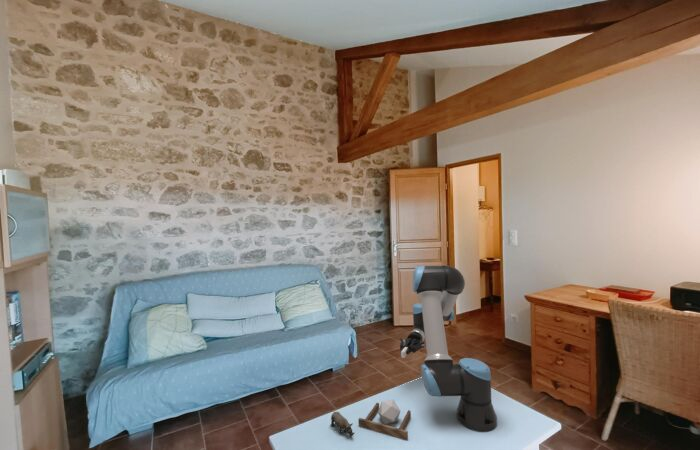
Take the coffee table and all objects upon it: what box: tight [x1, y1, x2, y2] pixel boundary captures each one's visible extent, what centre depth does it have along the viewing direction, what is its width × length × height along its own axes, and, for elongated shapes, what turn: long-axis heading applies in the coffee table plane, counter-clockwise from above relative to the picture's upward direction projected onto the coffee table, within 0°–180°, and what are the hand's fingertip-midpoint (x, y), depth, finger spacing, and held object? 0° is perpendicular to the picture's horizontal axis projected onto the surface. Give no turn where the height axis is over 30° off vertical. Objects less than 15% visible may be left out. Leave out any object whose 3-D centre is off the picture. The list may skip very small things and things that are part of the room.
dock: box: [358, 402, 412, 441], centre depth 128 cm, size 20×14×3 cm
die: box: [377, 399, 401, 425], centre depth 130 cm, size 8×9×10 cm
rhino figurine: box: [330, 411, 355, 437], centre depth 124 cm, size 4×14×6 cm, turn 38°
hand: (402, 354), depth 148 cm, fingers closed
